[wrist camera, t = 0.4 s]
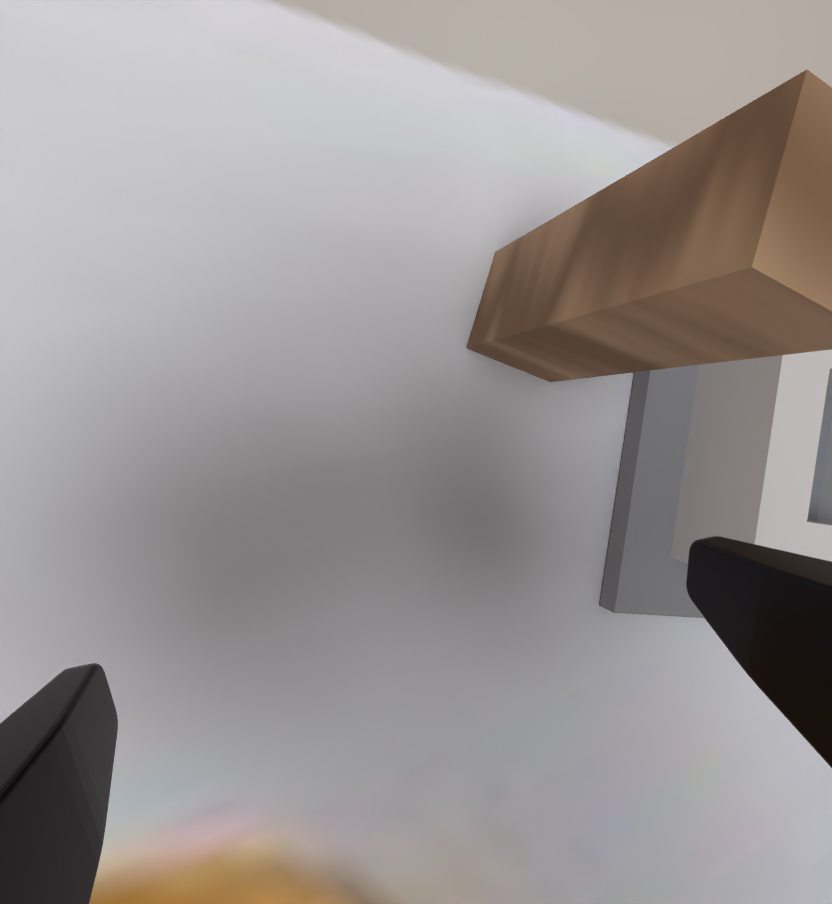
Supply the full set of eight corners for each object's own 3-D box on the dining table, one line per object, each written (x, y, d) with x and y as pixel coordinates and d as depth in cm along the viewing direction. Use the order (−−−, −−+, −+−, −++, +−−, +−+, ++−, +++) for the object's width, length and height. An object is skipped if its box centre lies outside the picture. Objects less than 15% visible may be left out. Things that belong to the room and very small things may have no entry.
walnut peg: (550, 381, 25) (888, 343, 12) (466, 347, 23) (751, 266, 11) (577, 290, 25) (935, 164, 13) (495, 252, 24) (806, 69, 11)
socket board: (852, 622, 31) (966, 657, 27) (599, 605, 26) (686, 646, 21) (896, 320, 31) (1019, 303, 27) (653, 242, 26) (752, 203, 21)
